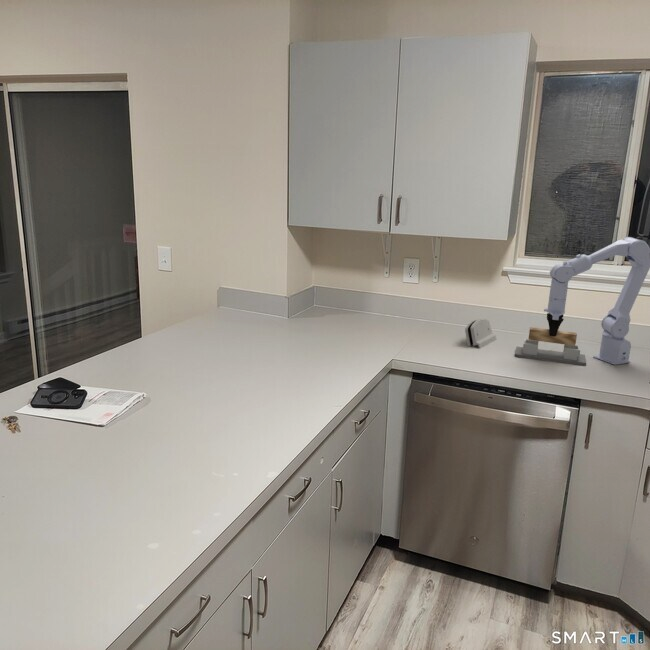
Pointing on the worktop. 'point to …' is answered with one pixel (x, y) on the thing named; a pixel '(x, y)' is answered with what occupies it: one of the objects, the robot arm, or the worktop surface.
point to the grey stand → (479, 333)
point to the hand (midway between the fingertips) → (552, 334)
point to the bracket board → (551, 353)
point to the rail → (544, 336)
